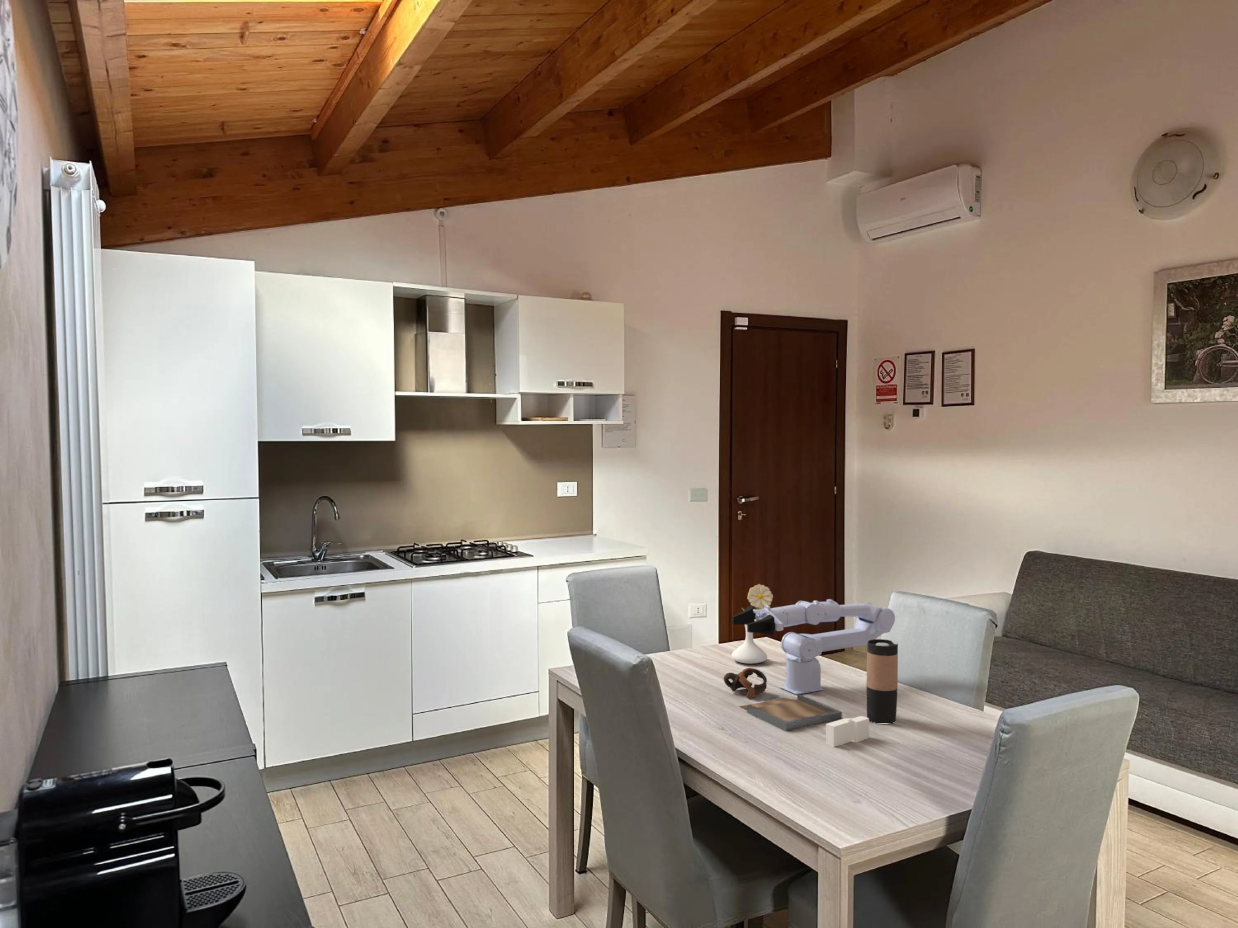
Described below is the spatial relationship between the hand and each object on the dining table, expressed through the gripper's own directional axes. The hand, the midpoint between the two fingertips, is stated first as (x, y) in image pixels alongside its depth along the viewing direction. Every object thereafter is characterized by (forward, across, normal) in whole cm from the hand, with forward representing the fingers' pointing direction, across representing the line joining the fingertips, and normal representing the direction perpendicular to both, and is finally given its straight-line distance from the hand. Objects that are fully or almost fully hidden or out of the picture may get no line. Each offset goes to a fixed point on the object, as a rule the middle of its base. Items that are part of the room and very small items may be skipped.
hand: (740, 624), depth 243 cm
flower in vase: (-22, -29, +24) cm, 44 cm away
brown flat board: (-4, +17, +20) cm, 26 cm away
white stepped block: (-5, +40, +19) cm, 45 cm away
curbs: (-4, +20, +20) cm, 28 cm away
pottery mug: (-2, -1, +21) cm, 22 cm away
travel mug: (-23, +31, +20) cm, 44 cm away
